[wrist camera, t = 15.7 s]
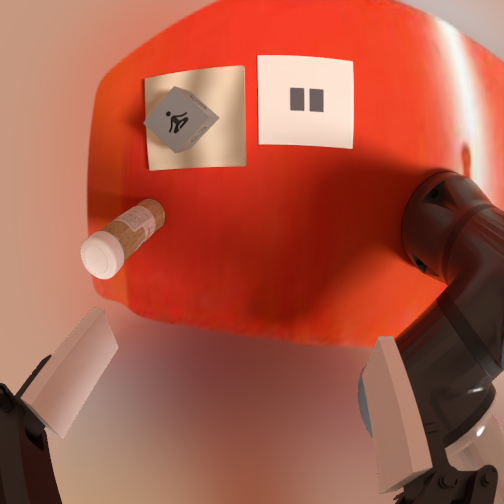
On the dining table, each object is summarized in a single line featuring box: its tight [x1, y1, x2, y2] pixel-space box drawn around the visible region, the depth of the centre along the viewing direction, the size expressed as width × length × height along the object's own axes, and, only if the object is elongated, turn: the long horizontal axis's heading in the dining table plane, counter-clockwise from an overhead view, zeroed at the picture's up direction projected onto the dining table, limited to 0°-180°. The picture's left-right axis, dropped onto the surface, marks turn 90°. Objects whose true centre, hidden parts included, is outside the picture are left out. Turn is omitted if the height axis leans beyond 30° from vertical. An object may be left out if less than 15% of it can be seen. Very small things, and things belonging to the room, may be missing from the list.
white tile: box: [258, 55, 354, 149], centre depth 27 cm, size 11×11×1 cm
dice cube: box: [143, 86, 219, 154], centre depth 26 cm, size 5×5×5 cm
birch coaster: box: [145, 66, 246, 171], centre depth 28 cm, size 12×12×1 cm
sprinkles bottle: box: [80, 199, 165, 279], centre depth 29 cm, size 5×5×13 cm
